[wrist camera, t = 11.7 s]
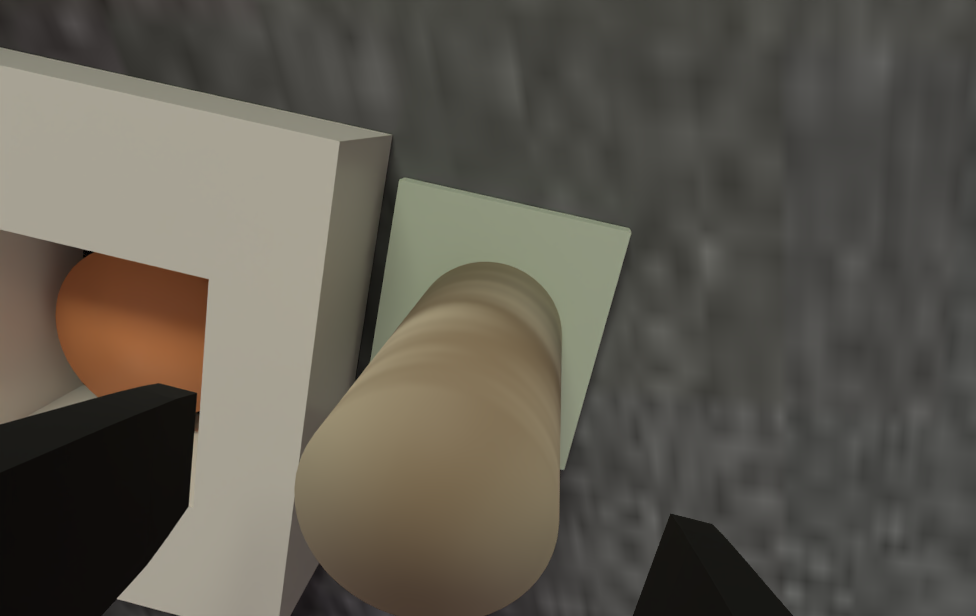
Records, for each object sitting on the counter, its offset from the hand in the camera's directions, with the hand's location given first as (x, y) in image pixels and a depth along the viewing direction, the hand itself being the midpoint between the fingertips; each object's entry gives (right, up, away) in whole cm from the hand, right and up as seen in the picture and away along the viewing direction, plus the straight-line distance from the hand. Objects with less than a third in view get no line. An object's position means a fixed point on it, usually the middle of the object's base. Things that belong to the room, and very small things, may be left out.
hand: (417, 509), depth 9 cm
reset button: (-8, +2, +9) cm, 12 cm away
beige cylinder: (+1, +2, +8) cm, 8 cm away
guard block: (-8, +3, +9) cm, 13 cm away
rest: (+1, +3, +8) cm, 9 cm away
